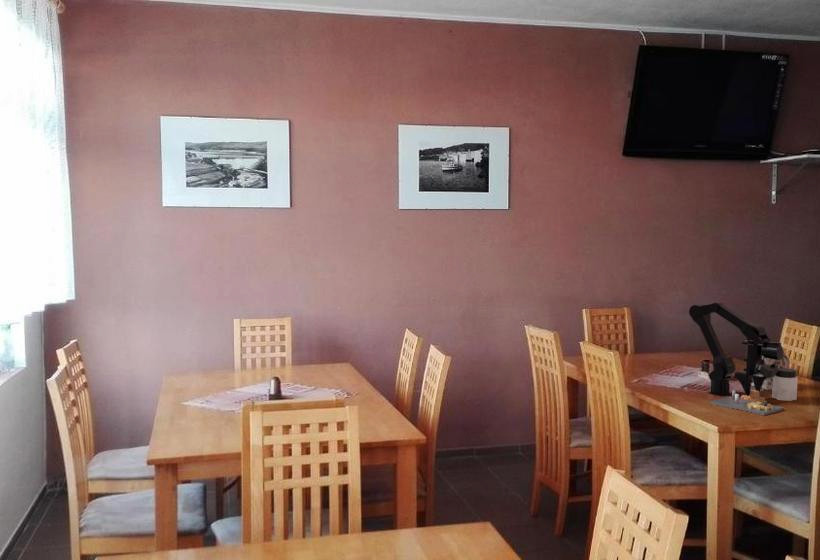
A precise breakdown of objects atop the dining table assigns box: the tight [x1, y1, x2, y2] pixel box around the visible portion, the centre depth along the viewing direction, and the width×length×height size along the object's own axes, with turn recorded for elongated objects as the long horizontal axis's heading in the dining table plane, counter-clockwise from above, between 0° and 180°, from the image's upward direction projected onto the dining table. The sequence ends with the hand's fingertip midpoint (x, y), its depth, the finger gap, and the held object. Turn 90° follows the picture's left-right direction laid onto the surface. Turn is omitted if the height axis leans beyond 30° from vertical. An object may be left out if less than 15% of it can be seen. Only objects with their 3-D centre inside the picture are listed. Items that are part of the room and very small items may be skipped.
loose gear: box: [740, 389, 766, 403], centre depth 299 cm, size 9×9×4 cm
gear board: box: [710, 389, 785, 416], centre depth 288 cm, size 22×14×4 cm, turn 35°
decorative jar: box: [751, 353, 790, 391], centre depth 324 cm, size 12×12×18 cm
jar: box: [771, 367, 799, 402], centre depth 302 cm, size 9×8×12 cm
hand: (752, 394), depth 299 cm, fingers open, 7 cm apart
